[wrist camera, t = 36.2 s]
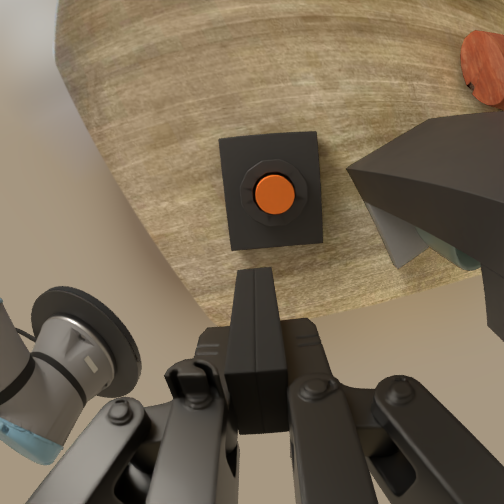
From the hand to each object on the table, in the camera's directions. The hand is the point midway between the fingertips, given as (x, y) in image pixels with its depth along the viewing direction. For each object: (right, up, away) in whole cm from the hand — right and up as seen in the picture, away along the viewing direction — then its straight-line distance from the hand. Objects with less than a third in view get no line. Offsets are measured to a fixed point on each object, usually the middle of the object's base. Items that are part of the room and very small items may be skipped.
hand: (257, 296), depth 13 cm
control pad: (+2, +9, +18) cm, 20 cm away
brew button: (+2, +8, +14) cm, 16 cm away
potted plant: (+44, +30, +10) cm, 54 cm away
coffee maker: (+20, +10, +17) cm, 28 cm away
